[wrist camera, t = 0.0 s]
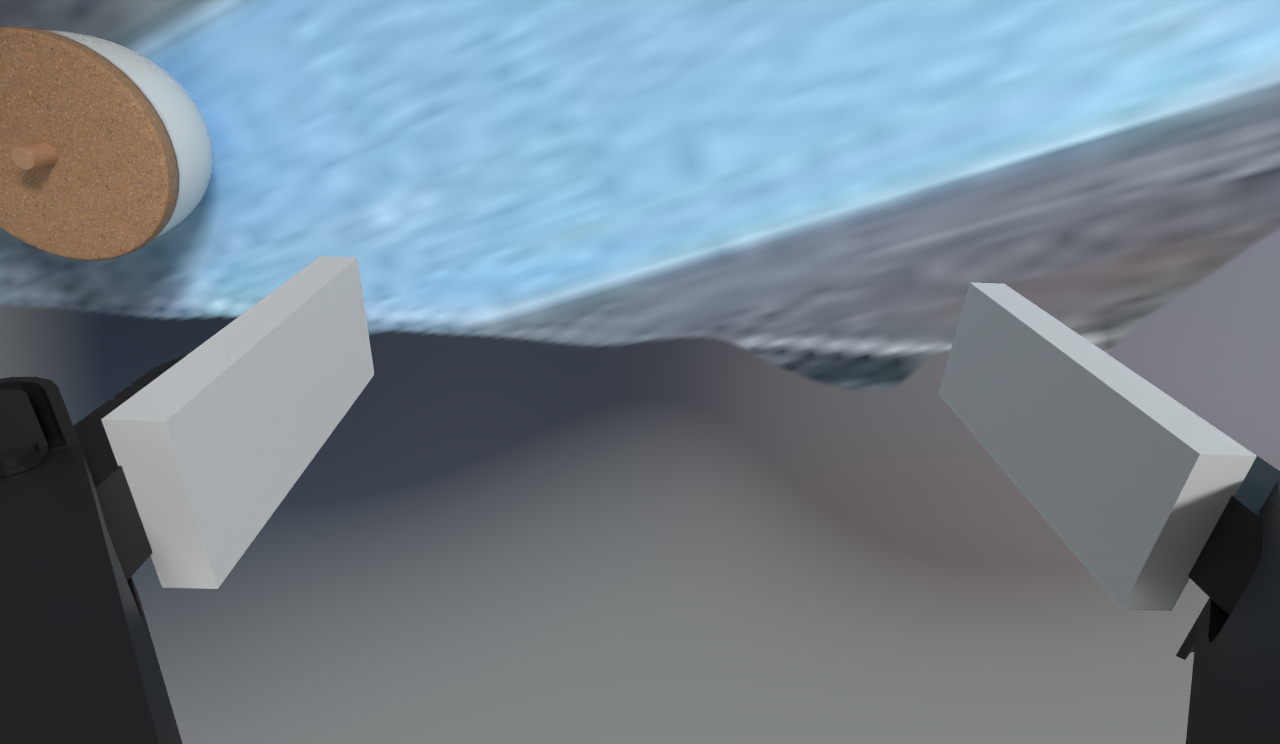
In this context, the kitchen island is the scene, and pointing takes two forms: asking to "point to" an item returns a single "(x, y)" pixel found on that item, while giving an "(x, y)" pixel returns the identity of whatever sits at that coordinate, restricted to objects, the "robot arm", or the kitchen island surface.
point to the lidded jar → (94, 145)
